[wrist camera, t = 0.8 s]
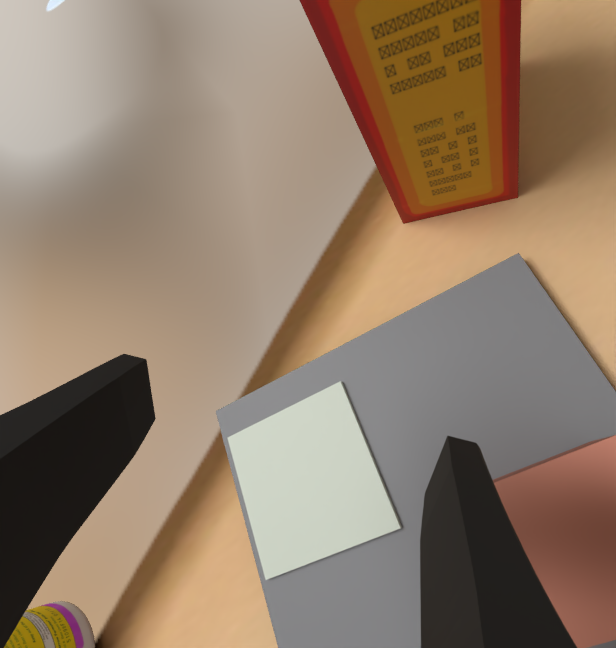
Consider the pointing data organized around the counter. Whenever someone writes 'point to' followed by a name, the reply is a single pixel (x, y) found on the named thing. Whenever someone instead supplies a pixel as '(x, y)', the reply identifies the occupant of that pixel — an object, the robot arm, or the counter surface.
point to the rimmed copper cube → (570, 534)
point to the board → (399, 448)
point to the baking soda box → (430, 95)
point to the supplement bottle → (53, 628)
